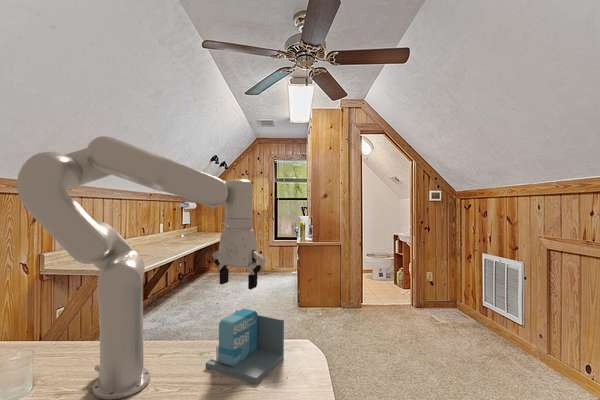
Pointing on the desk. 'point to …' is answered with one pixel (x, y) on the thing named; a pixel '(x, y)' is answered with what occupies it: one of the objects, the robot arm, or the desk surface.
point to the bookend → (216, 358)
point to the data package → (238, 336)
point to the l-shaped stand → (258, 352)
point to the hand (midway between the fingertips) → (238, 285)
